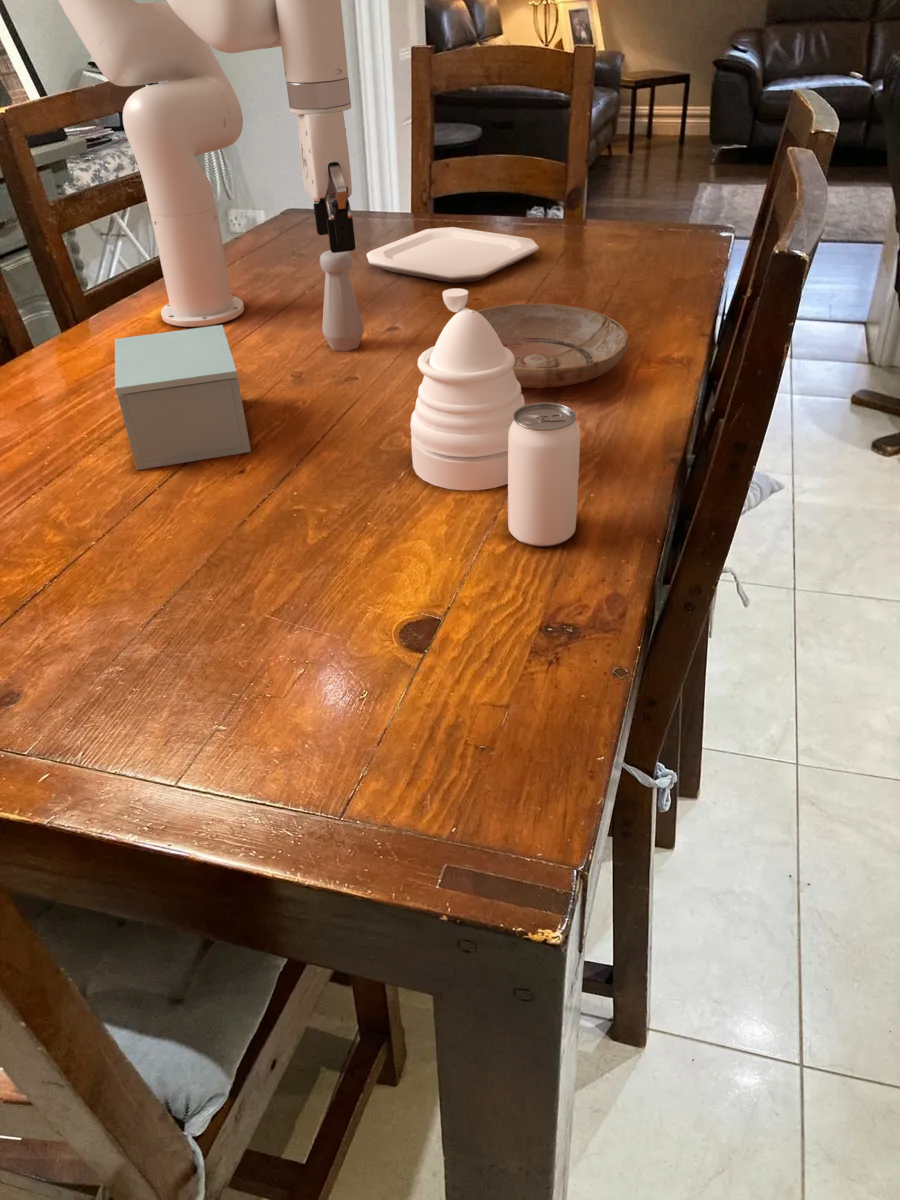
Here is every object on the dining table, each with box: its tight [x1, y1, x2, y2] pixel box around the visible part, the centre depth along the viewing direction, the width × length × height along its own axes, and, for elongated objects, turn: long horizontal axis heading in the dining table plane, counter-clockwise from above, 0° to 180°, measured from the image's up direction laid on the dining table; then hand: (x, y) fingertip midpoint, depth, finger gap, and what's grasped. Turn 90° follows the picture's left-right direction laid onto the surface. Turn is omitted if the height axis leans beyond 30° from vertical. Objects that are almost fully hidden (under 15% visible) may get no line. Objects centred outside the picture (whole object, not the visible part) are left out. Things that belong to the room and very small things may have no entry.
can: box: [507, 402, 581, 548], centre depth 86 cm, size 6×6×12 cm
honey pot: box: [409, 288, 526, 491], centre depth 97 cm, size 13×13×18 cm
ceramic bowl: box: [475, 303, 629, 389], centre depth 121 cm, size 23×24×5 cm
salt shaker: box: [319, 249, 365, 352], centre depth 128 cm, size 6×6×13 cm
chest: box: [117, 377, 252, 471], centre depth 108 cm, size 16×13×9 cm
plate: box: [366, 226, 540, 284], centre depth 163 cm, size 25×25×2 cm
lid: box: [114, 324, 239, 396], centre depth 105 cm, size 16×13×1 cm
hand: (335, 242), depth 124 cm, fingers open, 9 cm apart
